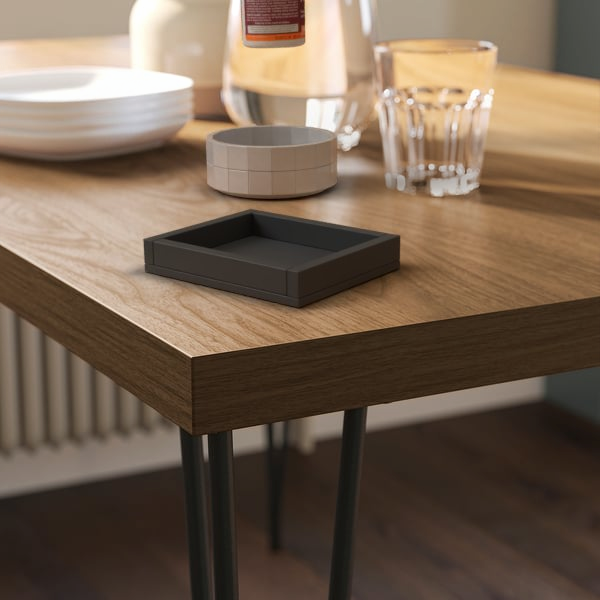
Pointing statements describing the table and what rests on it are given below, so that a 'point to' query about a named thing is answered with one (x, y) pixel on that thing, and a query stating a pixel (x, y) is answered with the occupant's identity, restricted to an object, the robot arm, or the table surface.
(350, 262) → the tray
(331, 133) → the gray bowl
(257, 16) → the pill bottle
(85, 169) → the table surface
